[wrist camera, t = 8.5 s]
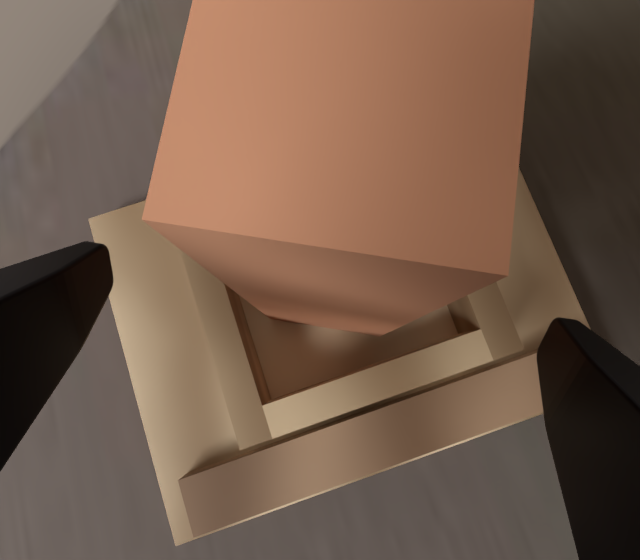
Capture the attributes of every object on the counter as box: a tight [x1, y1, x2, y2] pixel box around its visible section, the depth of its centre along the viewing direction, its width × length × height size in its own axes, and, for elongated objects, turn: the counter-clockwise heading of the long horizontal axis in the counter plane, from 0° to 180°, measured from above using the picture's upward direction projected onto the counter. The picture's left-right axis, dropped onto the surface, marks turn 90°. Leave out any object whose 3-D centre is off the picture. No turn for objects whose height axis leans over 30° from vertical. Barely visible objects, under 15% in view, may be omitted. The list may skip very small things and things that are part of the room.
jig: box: [88, 169, 591, 546], centre depth 16 cm, size 16×12×4 cm
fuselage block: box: [142, 0, 534, 336], centre depth 11 cm, size 4×4×12 cm
